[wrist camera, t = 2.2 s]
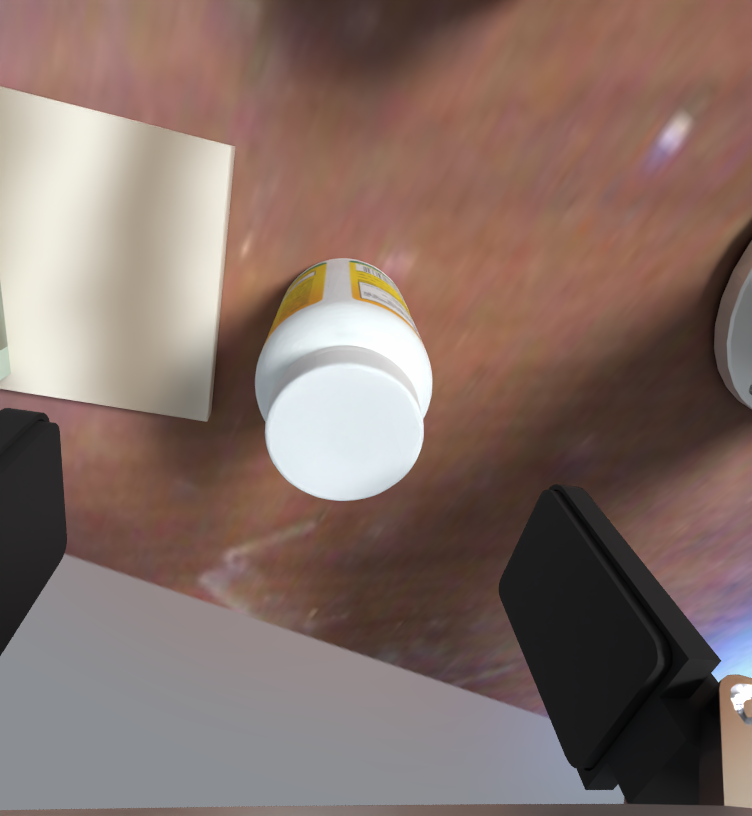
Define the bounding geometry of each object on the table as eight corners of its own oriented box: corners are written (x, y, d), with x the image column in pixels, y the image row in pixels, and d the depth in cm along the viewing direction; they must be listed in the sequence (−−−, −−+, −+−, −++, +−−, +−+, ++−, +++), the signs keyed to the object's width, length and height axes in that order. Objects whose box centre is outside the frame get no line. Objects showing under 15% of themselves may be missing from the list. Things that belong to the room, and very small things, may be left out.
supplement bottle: (405, 252, 19) (460, 328, 11) (405, 374, 22) (450, 514, 13) (270, 259, 19) (217, 343, 10) (286, 382, 21) (254, 529, 13)
